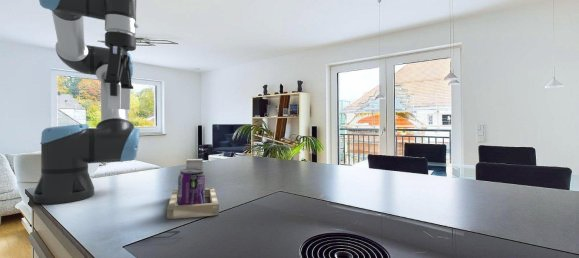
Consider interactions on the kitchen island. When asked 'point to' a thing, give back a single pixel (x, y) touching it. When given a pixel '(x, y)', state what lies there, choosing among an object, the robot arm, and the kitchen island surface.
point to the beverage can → (191, 186)
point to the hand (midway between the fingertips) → (120, 109)
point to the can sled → (193, 209)
